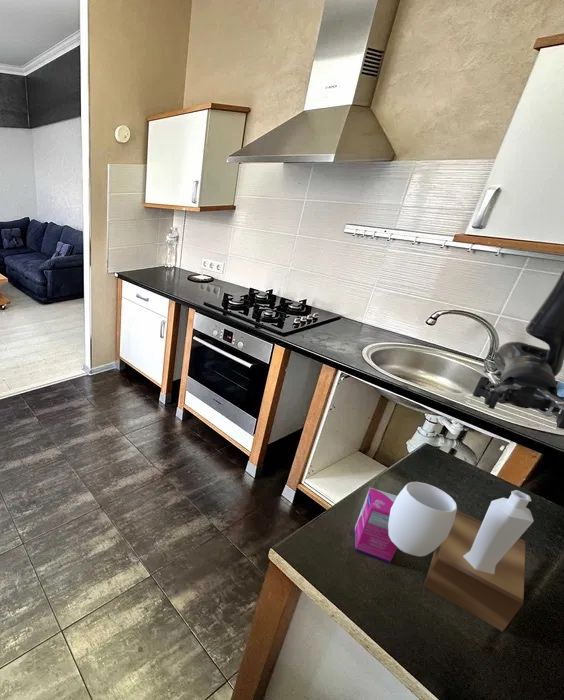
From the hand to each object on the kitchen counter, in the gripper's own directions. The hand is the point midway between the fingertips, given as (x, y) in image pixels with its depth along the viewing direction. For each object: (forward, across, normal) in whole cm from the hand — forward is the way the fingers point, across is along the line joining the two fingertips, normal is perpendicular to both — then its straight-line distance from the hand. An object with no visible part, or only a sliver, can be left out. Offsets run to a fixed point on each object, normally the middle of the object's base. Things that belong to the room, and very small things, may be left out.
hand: (527, 413), depth 66 cm
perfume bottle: (+18, +1, +21) cm, 28 cm away
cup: (+26, -8, +28) cm, 39 cm away
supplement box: (+19, -12, +28) cm, 36 cm away
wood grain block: (+14, +1, +28) cm, 31 cm away
